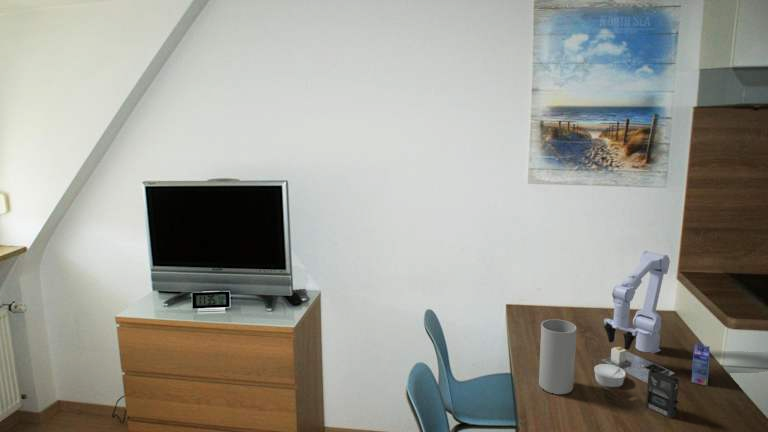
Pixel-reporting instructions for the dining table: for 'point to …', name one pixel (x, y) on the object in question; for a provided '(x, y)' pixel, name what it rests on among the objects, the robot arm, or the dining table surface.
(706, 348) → the ink cartridge box
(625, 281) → the robot arm
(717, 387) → the dining table surface
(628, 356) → the switch plate
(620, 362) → the plug
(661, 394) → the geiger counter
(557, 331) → the cylinder vase
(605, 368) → the ramekin
